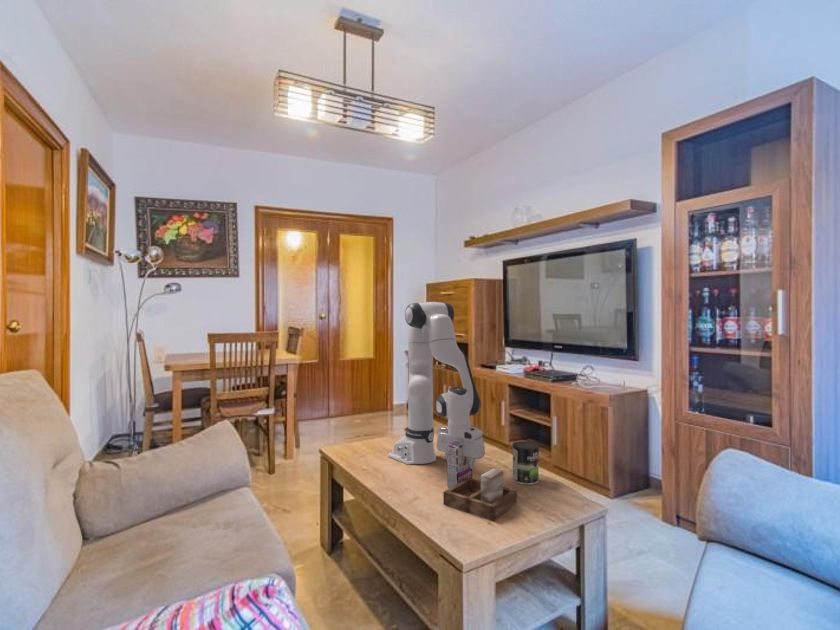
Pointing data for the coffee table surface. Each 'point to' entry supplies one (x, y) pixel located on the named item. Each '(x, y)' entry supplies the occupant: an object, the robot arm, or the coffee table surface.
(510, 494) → the tray
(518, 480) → the coffee can
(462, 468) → the candy bar box
